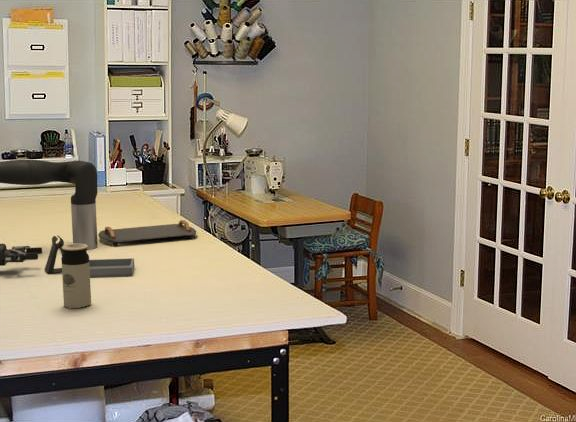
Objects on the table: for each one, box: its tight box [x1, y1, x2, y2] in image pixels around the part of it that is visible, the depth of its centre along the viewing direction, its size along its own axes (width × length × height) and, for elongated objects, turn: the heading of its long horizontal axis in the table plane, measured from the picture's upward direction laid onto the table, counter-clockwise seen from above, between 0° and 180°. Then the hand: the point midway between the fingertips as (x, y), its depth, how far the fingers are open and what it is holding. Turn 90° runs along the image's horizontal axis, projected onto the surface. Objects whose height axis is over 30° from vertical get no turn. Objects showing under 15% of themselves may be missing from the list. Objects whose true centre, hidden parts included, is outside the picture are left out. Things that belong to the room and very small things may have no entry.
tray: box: [89, 257, 135, 279], centre depth 315 cm, size 14×17×3 cm
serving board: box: [97, 219, 197, 247], centre depth 371 cm, size 39×23×6 cm, turn 115°
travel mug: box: [60, 243, 92, 309], centre depth 274 cm, size 8×8×18 cm
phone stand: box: [44, 234, 65, 275], centre depth 316 cm, size 9×6×12 cm, turn 114°
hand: (40, 253), depth 316 cm, fingers open, 8 cm apart
